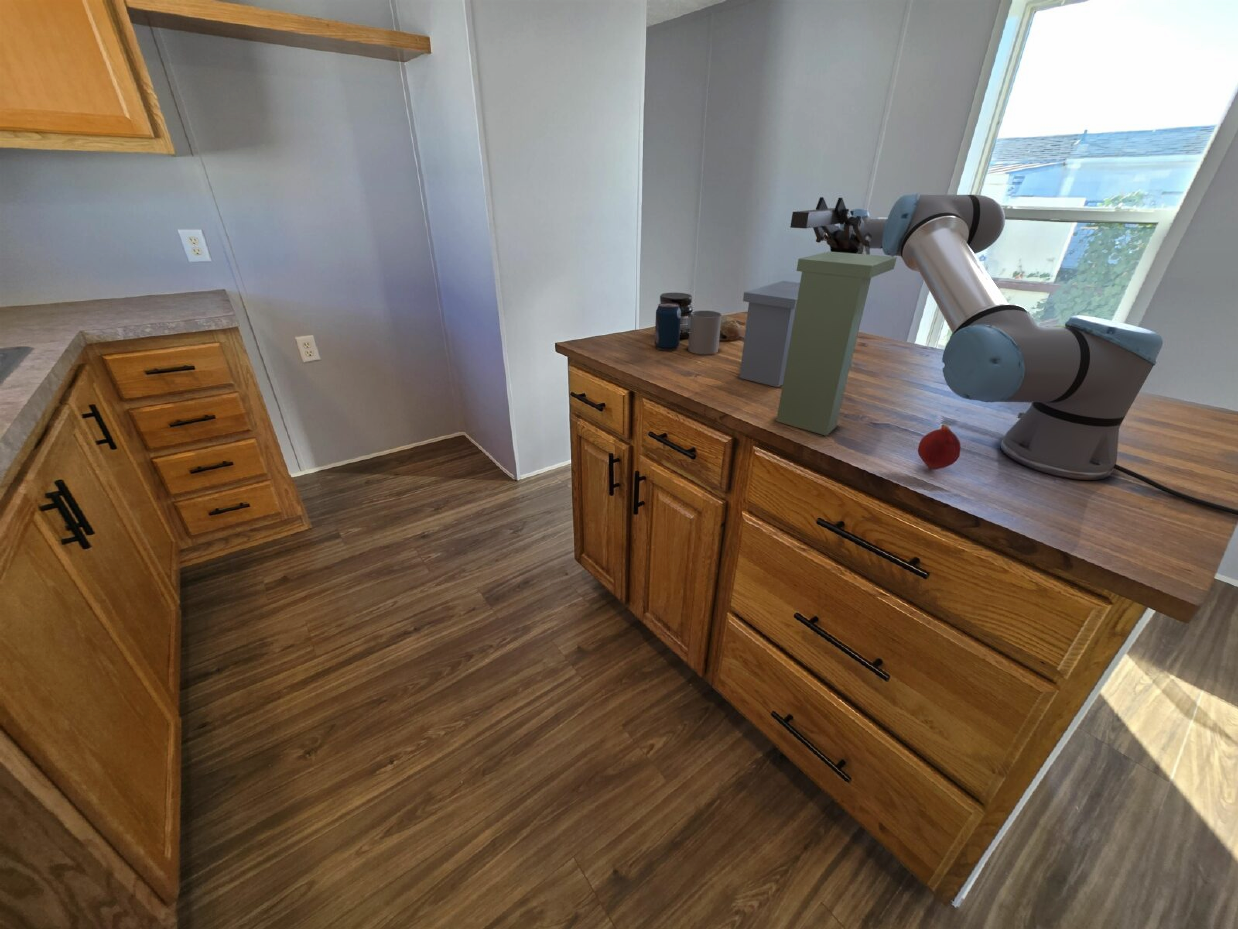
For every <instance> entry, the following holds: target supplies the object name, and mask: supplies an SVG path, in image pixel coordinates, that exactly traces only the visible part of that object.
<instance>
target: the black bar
mask: <svg viewBox="0 0 1238 929" xmlns="http://www.w3.org/2000/svg"><path fill="white" fill-rule="evenodd" d="M834 209H835V207H830V208H829V207H828V209H817V210H816V209H808V210H797V211H796V210H795V211H792V213H791V220H790V221H791V222H790V226H789V227H790V229H791V228H792V229H803V230H805V229H806V230H807V229H813V227H820V226H827V225H833V224H835V225H840V223H839V220H838V217H837V215H836V212H835V210H834Z"/></svg>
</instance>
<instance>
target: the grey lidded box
mask: <svg viewBox="0 0 1238 929" xmlns="http://www.w3.org/2000/svg"><path fill="white" fill-rule="evenodd" d="M799 286H800V282H796V281H788V280H781V281H777V282H774V283H771V284H767V285H763V286H759V287H757V288H754V289H750V290H747V291H744V292H743V298H742V302H746V303H748V306H747V313H746V314H747V315H746V323H745V330H744V337H743V345H742V346H743V347H742V353H741V360H740V362H741V363H740V370H739V376H738V378H739V379H743V380H747V381H750V382H754V383H757V384H758V383H759V384H762V385H766V386H770V387H775V388H779V387H782V385H783V379H784V373H785V367H786V362H787V356H788V350H789V344H790V338H791V333H792V327H793V321H794V315H795V309H796V304H797V298H798V292H799Z"/></svg>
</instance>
